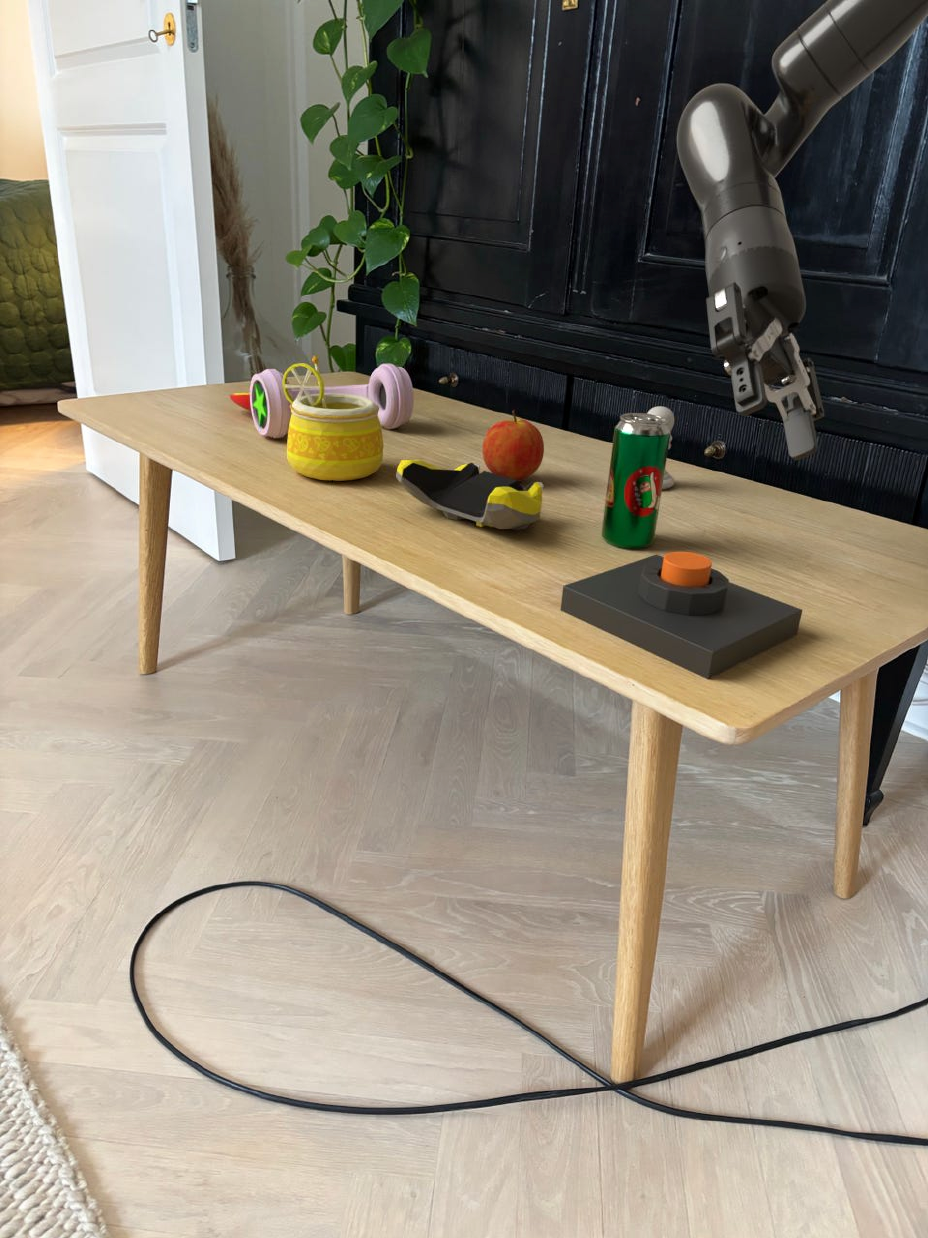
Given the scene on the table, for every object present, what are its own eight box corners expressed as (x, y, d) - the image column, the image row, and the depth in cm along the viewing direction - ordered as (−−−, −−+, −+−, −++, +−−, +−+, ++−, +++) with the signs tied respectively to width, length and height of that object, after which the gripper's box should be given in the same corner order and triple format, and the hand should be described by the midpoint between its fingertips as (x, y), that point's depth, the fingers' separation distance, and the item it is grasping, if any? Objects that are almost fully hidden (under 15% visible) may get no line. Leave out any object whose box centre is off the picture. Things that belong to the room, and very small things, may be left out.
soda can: (608, 529, 91) (623, 409, 86) (658, 538, 89) (677, 416, 84) (594, 545, 86) (610, 419, 81) (647, 555, 85) (666, 427, 80)
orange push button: (717, 583, 70) (721, 561, 69) (689, 594, 68) (693, 572, 67) (679, 568, 72) (682, 547, 72) (651, 578, 70) (654, 557, 69)
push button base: (797, 635, 71) (808, 588, 69) (707, 680, 63) (717, 628, 62) (652, 577, 80) (659, 534, 78) (560, 610, 72) (565, 564, 71)
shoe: (501, 552, 83) (564, 528, 90) (505, 495, 81) (570, 474, 88) (386, 511, 92) (451, 492, 99) (386, 458, 90) (453, 442, 97)
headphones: (271, 382, 108) (220, 334, 122) (270, 459, 113) (222, 405, 127) (418, 374, 117) (355, 331, 132) (411, 446, 123) (352, 397, 137)
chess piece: (672, 493, 103) (685, 413, 99) (625, 487, 104) (636, 408, 100) (674, 480, 108) (686, 404, 104) (629, 474, 109) (639, 399, 105)
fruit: (529, 470, 108) (535, 403, 105) (549, 487, 102) (556, 417, 99) (473, 471, 107) (477, 403, 103) (491, 489, 101) (495, 417, 97)
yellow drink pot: (400, 479, 102) (403, 370, 97) (308, 490, 97) (306, 375, 92) (353, 451, 112) (353, 351, 107) (267, 459, 107) (263, 354, 102)
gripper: (750, 203, 71) (780, 370, 65) (831, 296, 81) (864, 450, 74) (669, 255, 76) (689, 415, 70) (754, 338, 85) (778, 485, 79)
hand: (779, 433), depth 72 cm, fingers open, 8 cm apart
